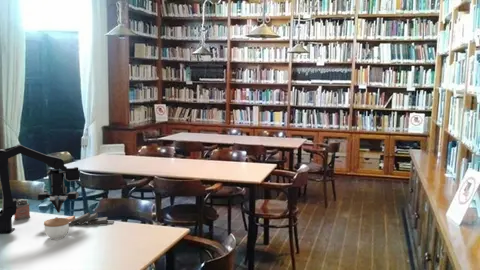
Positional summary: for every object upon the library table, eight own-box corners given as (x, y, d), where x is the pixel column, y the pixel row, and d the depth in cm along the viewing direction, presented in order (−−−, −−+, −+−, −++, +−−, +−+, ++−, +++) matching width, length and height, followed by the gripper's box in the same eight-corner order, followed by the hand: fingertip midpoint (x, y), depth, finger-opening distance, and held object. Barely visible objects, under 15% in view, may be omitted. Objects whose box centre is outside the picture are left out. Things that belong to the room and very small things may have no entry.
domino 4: (87, 224, 228) (106, 222, 229) (87, 221, 228) (105, 219, 229) (90, 221, 233) (107, 219, 234) (89, 218, 233) (107, 216, 234)
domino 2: (71, 225, 227) (88, 217, 227) (70, 222, 227) (87, 215, 227) (74, 222, 232) (90, 215, 232) (73, 219, 232) (89, 212, 232)
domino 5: (94, 227, 228) (112, 226, 229) (94, 224, 228) (112, 223, 229) (96, 224, 233) (114, 223, 234) (96, 221, 233) (114, 220, 234)
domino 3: (79, 225, 227) (96, 217, 228) (78, 222, 227) (95, 215, 228) (82, 222, 232) (98, 215, 233) (80, 219, 232) (96, 212, 233)
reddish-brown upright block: (28, 216, 242) (27, 198, 241) (31, 217, 240) (30, 199, 239) (13, 219, 236) (12, 201, 235) (16, 220, 234) (15, 202, 233)
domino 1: (55, 225, 226) (73, 221, 227) (54, 222, 226) (72, 218, 227) (58, 222, 231) (75, 218, 232) (57, 219, 231) (74, 215, 232)
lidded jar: (74, 234, 213) (73, 215, 212) (60, 242, 202) (59, 221, 201) (53, 233, 215) (53, 213, 214) (39, 240, 204) (38, 220, 203)
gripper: (80, 178, 236) (81, 207, 237) (43, 179, 233) (44, 208, 235) (75, 183, 224) (76, 213, 226) (36, 183, 222) (37, 214, 224)
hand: (58, 212), depth 228 cm, fingers closed
